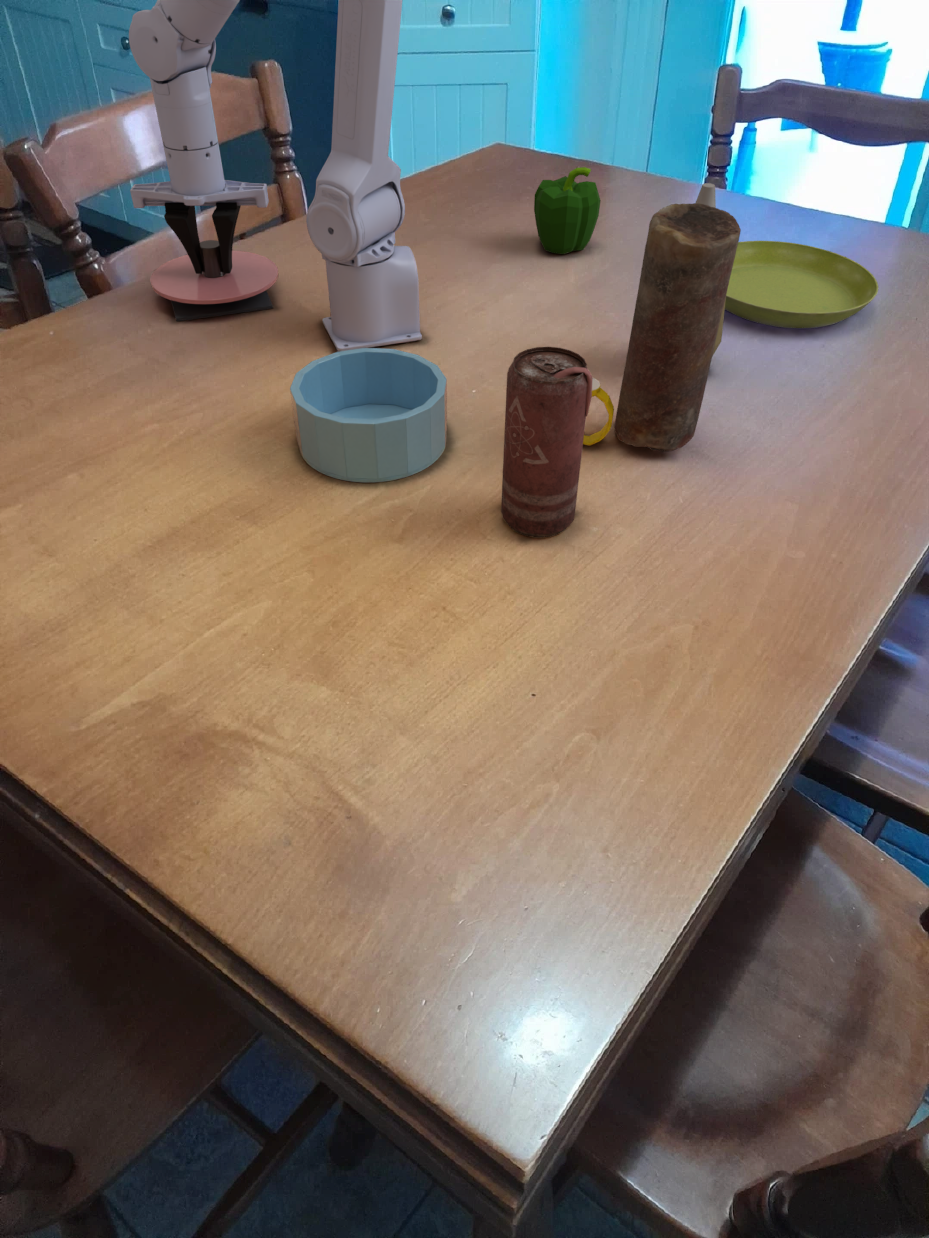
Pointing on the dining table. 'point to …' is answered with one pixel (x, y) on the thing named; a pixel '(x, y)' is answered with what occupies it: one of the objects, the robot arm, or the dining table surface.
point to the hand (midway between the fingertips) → (213, 270)
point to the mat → (221, 307)
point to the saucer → (796, 285)
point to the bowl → (370, 414)
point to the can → (544, 439)
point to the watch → (610, 409)
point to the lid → (214, 277)
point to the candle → (675, 324)
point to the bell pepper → (566, 212)
